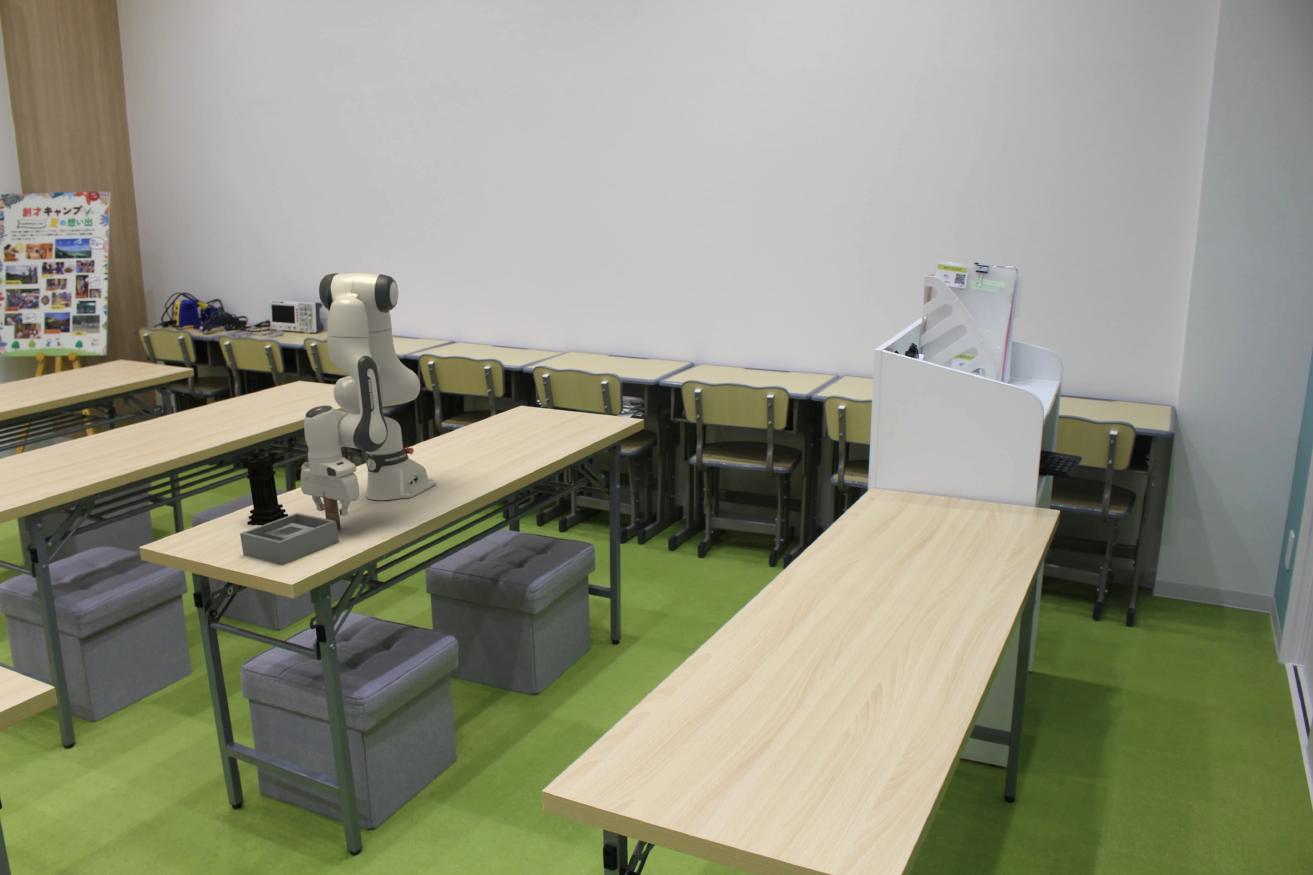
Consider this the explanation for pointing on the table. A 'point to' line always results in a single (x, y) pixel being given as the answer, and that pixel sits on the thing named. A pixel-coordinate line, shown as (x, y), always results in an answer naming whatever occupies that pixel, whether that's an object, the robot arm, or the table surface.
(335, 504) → the peg
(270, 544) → the open box
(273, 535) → the grey square frame
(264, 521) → the chess piece
